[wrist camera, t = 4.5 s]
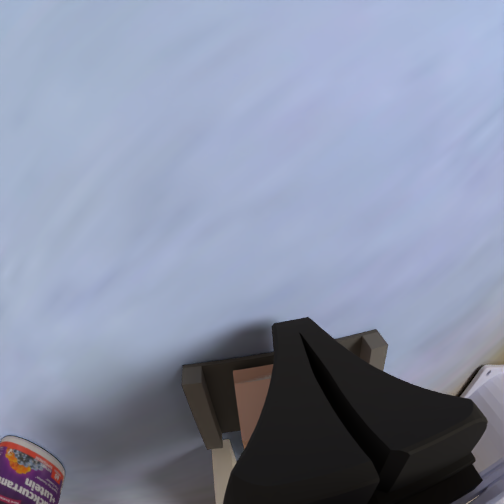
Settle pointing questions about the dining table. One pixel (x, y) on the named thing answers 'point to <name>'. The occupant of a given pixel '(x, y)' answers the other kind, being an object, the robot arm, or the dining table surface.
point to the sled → (251, 396)
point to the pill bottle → (28, 473)
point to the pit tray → (223, 389)
